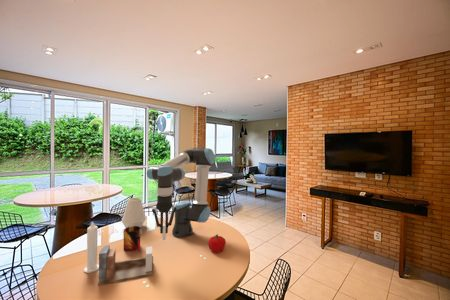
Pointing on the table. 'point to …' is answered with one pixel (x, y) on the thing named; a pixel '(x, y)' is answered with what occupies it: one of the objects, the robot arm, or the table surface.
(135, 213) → the vase
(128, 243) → the mug
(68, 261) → the table surface
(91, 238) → the white round flared column
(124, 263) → the rack
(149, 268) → the bookend
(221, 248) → the apple
